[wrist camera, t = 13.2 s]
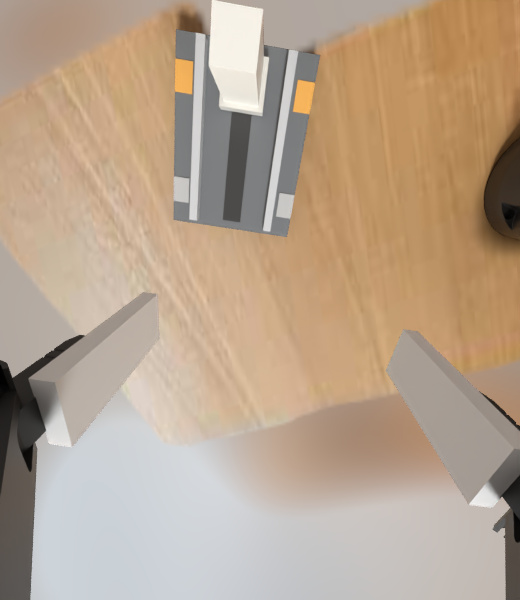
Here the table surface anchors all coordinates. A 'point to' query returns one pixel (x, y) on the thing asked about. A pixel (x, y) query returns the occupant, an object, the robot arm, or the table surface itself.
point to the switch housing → (239, 141)
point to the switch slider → (238, 57)
